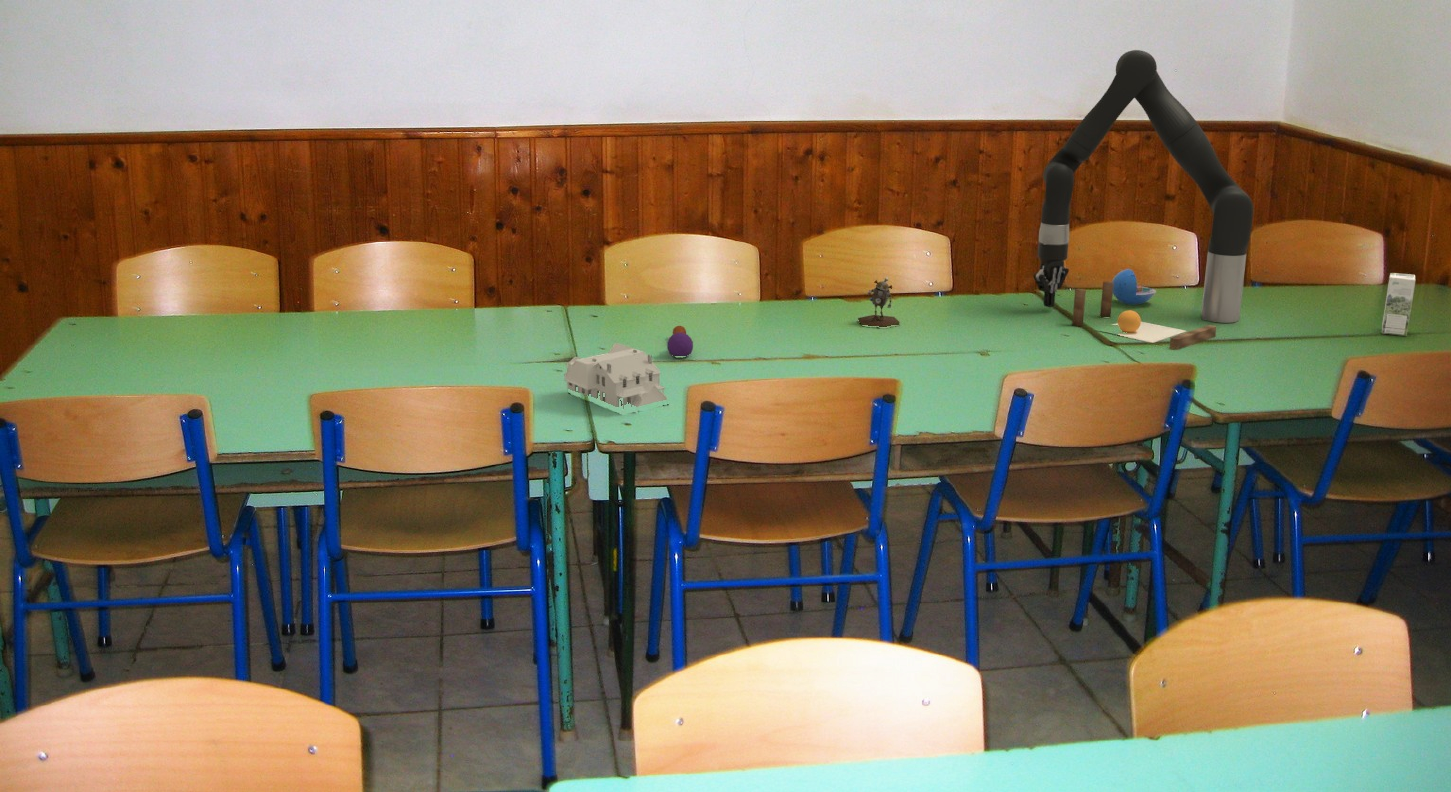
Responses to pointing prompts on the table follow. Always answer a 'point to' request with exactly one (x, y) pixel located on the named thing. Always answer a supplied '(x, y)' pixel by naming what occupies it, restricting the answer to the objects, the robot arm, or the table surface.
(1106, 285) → the post far
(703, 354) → the table surface
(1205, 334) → the wall
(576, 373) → the house model
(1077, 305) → the post near
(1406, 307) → the syrup box
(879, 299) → the robot figurine
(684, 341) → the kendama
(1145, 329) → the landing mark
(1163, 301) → the table surface
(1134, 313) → the ball
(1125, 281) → the cell model
